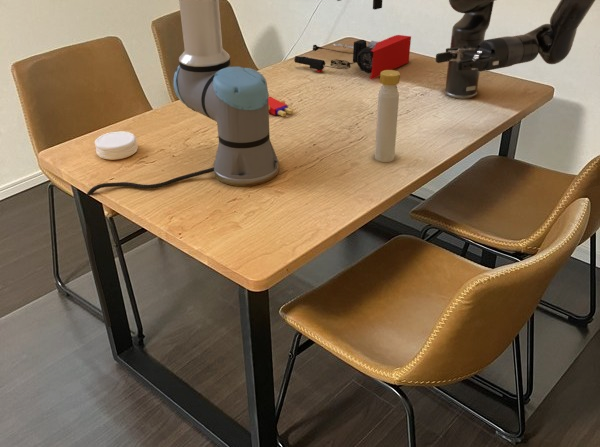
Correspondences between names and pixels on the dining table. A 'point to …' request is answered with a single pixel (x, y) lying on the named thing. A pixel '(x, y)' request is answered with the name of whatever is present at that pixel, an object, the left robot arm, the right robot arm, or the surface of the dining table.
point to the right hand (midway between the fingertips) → (446, 62)
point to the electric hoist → (368, 55)
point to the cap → (389, 77)
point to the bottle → (386, 123)
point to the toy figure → (278, 107)
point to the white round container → (116, 145)
